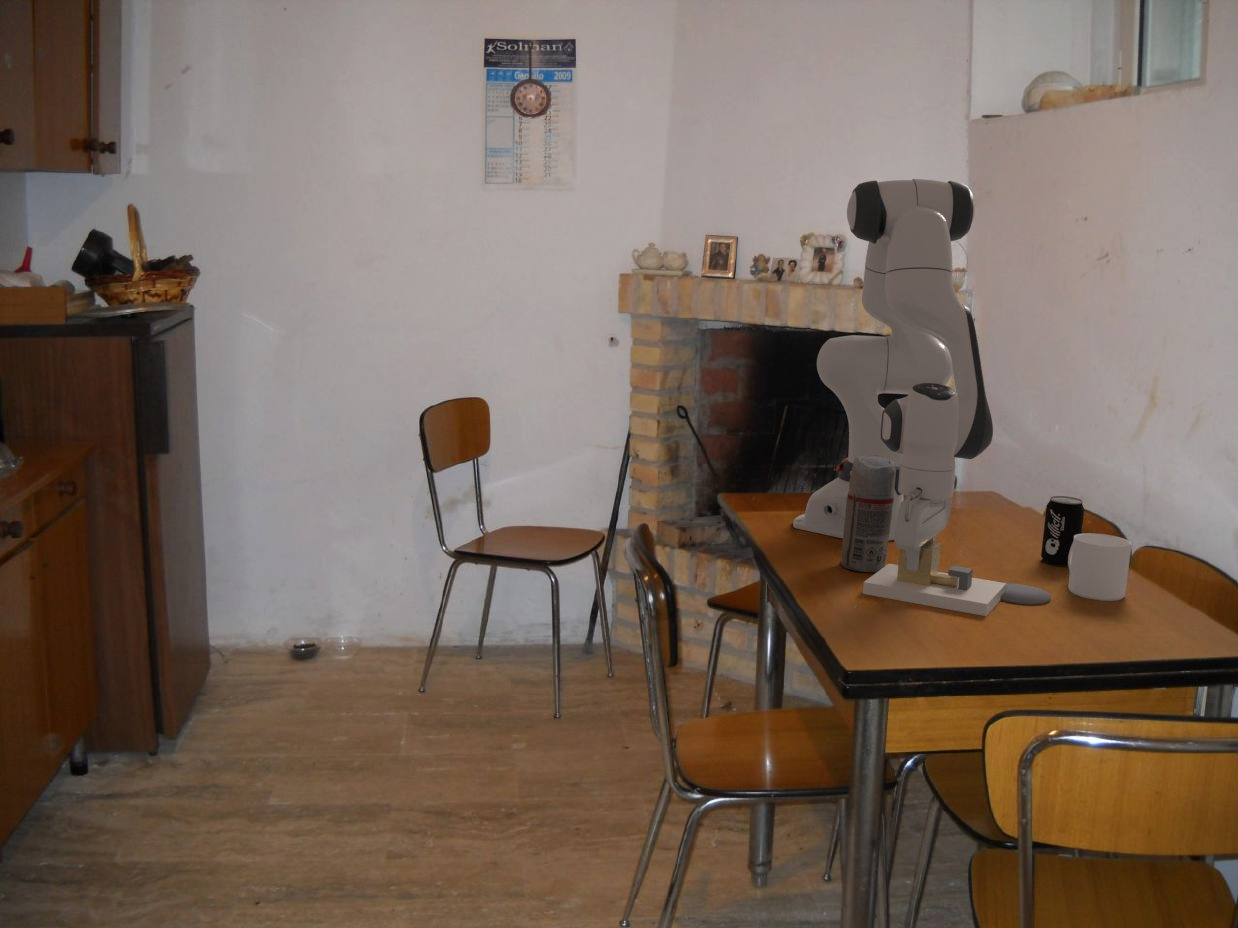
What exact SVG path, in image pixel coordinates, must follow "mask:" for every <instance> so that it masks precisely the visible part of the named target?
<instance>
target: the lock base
mask: <svg viewBox="0 0 1238 928" xmlns="http://www.w3.org/2000/svg"><path fill="white" fill-rule="evenodd" d="M973 572H974V569H973V568H969V567H964V566H957V565H952V566H951V567H950V568H949V569H948V573H947V572H941V571H939V572H938V573H939V574H944V575H948V576H954V577H959V584H958V585H957V586H956V587H955V586H950V585H944V584H938V583H932V584H931V585H930V586H925V585H919V584H914V583H908V582H902V581H897V575H898V564H893V563H888V564H885V567H884V568H882V569H881V570H879V571H878V572H874V574H873V575H871V576H870V577H869V578H867V579H866V580H865V581H863V588H862V595H866V596H873V597H879V598H884V599H890V600H894V601H901V602H905V603H911V604H916V605H923V606H927V607H933V608H939V609H945V610H949V611H955V612H960V613H965V614H971V615H977V616H982V617H988V615H989V614H990V613H991V612H992V611H993V609H994V608H995V607H996V606H997V605H998V603H1000V601H1002V600H1001V596H1002V595H1003V594H1004V592H1005V591H1006V583H1007V582H999V581H996V580H994V581H993V580H988V579H983V578H977V577H973Z"/></svg>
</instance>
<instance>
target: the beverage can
mask: <svg viewBox="0 0 1238 928" xmlns="http://www.w3.org/2000/svg"><path fill="white" fill-rule="evenodd" d="M1083 502H1084V500H1082V498H1078V497H1074V496H1069V495H1068V496H1066V495H1053V496H1050V497H1049V501H1048V502H1047V504H1046V507H1045V517H1044V526H1043V533H1042V544H1041V553H1040V557H1041V558H1042V561H1043V562H1045V563H1046V564H1049V565H1053V566H1058V567H1059V566H1060V567H1069V566H1068V556H1069V551H1070V548H1071V545H1072V543H1073V541H1074V536H1075V535H1077V534H1083V525H1084V517H1085V507H1084V506H1083Z"/></svg>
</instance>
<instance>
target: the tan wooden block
mask: <svg viewBox="0 0 1238 928" xmlns="http://www.w3.org/2000/svg"><path fill="white" fill-rule="evenodd" d="M941 549H942V543H940V542H935V541H934V542H929V541H927V542H926V543H925V544H923V545H922V546H921V550H920V551H919V559H920V568H919V569H918V570H916V571H912V570H908V569H907V556H906V551H905V549H899V551H898V552H899V553H898V564H897V565H898V575H897V581H902V582H908V583H914V584H919V585H925V586H930V585H931V584H932V583H938V584H944V585H950V586H955V587H956V586H957V585H958V584H959V577H954V576H948V575H944V574H939V573H938V572H940V571H939V570H940V562H941V561H940V560H941V559H940V558H941Z"/></svg>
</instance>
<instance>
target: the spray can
mask: <svg viewBox="0 0 1238 928" xmlns="http://www.w3.org/2000/svg"><path fill="white" fill-rule="evenodd" d="M895 466H896V464H895V463H894V461H891V460H886V459H885V458H884V457H882V456H879V455H875V454H874V455H869V456H861V457H859V456H858V457H855V460H854V463H853V467H852V471H851V476H850V484H849V492H848V496H847V501H846V511H845V523H844V532H843V538H842V545H841V559H840V561H839V563H840V564H841V566H842V567H843V568H845V569H849V570H851V571H855V572H861V573H877V572H878V571H879V570H881V569H882V568H884V567H885V566H886V561H887V556H888V545H889V541H890V540H889V533H890V525H891V520H892V509H893V501H894V486H895V475H896V467H895Z"/></svg>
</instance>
